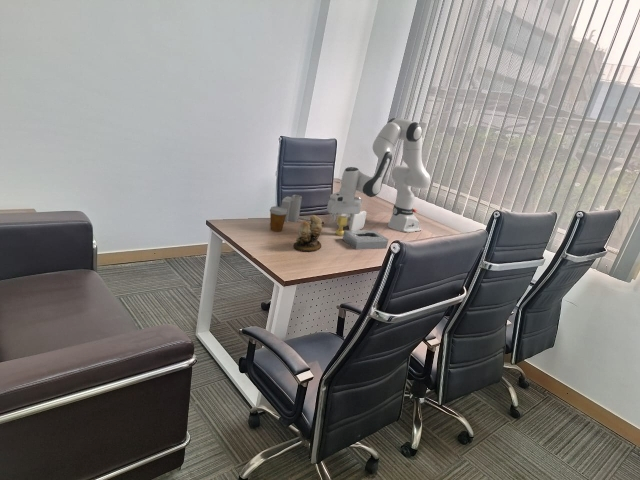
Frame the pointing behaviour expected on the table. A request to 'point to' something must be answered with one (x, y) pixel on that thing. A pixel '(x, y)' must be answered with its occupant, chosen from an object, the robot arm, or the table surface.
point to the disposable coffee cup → (277, 218)
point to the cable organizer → (355, 221)
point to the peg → (341, 225)
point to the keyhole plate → (365, 239)
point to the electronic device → (293, 208)
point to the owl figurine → (309, 235)
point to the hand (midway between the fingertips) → (341, 220)
